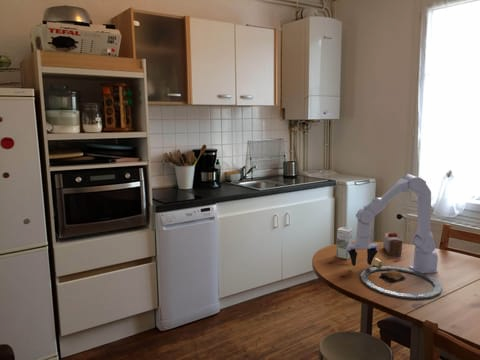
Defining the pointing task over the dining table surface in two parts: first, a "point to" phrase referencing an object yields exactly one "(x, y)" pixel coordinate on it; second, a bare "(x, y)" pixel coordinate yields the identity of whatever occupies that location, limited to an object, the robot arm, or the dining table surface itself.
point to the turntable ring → (379, 266)
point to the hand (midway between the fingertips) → (361, 264)
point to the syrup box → (343, 242)
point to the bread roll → (392, 276)
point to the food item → (392, 244)
